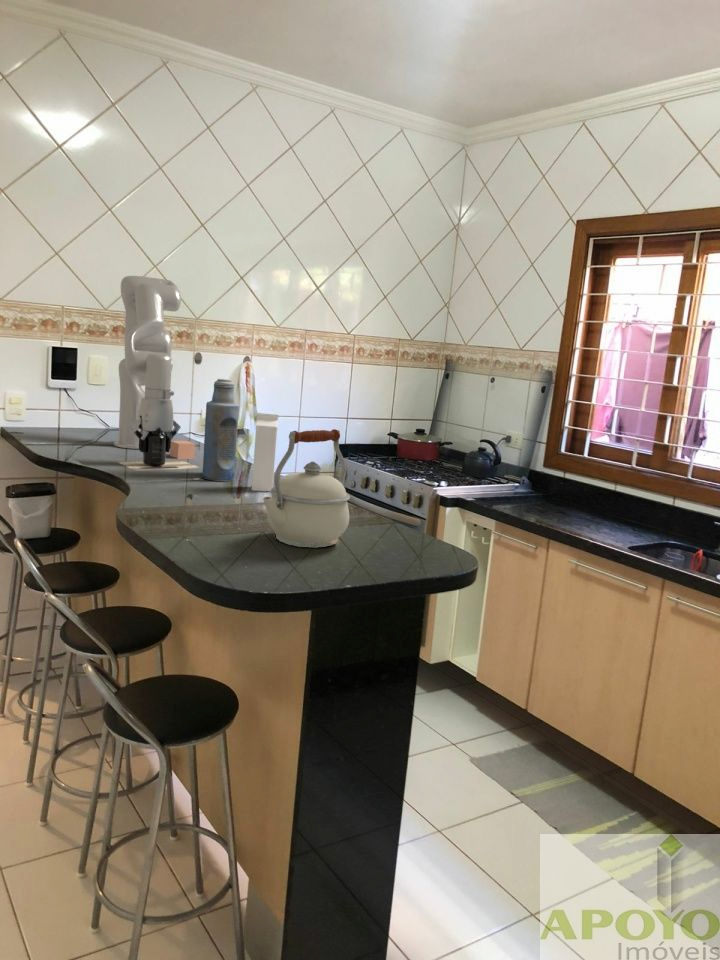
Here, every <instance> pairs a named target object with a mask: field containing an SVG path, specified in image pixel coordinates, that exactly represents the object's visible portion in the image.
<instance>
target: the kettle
mask: <svg viewBox="0 0 720 960" xmlns="http://www.w3.org/2000/svg"><path fill="white" fill-rule="evenodd" d="M288 439H289V441H288V443H289V444H288V447H287V450H286V452H285V454H284V456H283V457H282V459H281V460H280V461H279V464H278V465H277V467H276V469H275V470H274V477H273V485H274V486H273V488H271V490H270V493H271V495H272V496H264V497H262V500H263V504H264V506H265V510H266V511H267V512H266V518H267V522H268V524H269V526H270V527H271V529H272V531H273V532H274V533H275V534H276V536H277V537H279V538H280V539H284V540H287V541H293V542H302V543H324V542H330V541H333V540H336V539H338V538H340V536H342V535H343V534H344V532H345V531H346V530H347V529H348V527H349V523H350V511H349V504H348V501H349V500H350V498H351V496H350V494H349V493H347V491H346V488H345V486H344V482H345V481H346V480H345V479H346V474H347V464H346V461H345V459H344V456H343V454H342V451H341V450H340V439H341V433H340V429H339V430H338V429H335V428H334V429H333V428H332V429H331V430H326V429H320V430H319V429H318V430H314V429H313V430H304V431H297V430H293V431H292V430H291V431H289V435H288ZM328 441H332V442H333V450H334V451H335V453H336V456H337V458H338V460H339V463H340V475H339V479H336V478H335V477H333V476H331V475H328V474H324V473H320V471H322V468H321V466H320V465H319V464H318V463H317V462H315V461H310V462H309V463H307V464H305V465H304V466H303V469H304V471H297V472H293V473H288V474H286V475H284V476H282V477H281V473H282V470H283V469H284V467H285V465H286V464H287V462H288V460H289V459H290V458H291V456H292V454H293V452H294V449H295V444H298V443H299V442H300V443H322V442H323V443H324V442H328Z"/></svg>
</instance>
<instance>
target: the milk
mask: <svg viewBox="0 0 720 960" xmlns="http://www.w3.org/2000/svg"><path fill="white" fill-rule="evenodd" d="M278 427H279V415H278V414H271V413H261V412H258V413H257V415H256V423H255V434H254V435H255V439H254V451H253V465H252V468H253V469H252V477H251V478H252V480H251V491H255V492H266V491H270V490H271V488H273V487H274V486H273V485H274V476H275V464H276V449H277V438H278Z"/></svg>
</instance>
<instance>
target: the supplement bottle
mask: <svg viewBox="0 0 720 960" xmlns="http://www.w3.org/2000/svg"><path fill="white" fill-rule="evenodd" d="M145 440H146V452H145V453H143V452H142V461H143V463H144V464H147V465H164V464H165V461H167V460H166V458H167V452H166V436H165V435H164V433H163V431H162V430H161V428H160V427H159V429H158V428H157V429H156V431H152V432H148V434H147V435H146V437H145Z"/></svg>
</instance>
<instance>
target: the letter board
mask: <svg viewBox="0 0 720 960" xmlns="http://www.w3.org/2000/svg"><path fill="white" fill-rule="evenodd" d="M117 463H118V464H120V465H123V466H125V467H127V468H128V469H131V470H134V471H137V472H138V471H159V470H160V471H162V470H163V471H164V470H165V471H166V470H167V471H168V470H190V469H191V470H195V469H196V470H197V469H201V467H200V466H197V465H195V464H192V463H190V462H187V461H184V460H183V459H178V460H165V464H164V465H147V464H144V463H143V460H141V461H117Z"/></svg>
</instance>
